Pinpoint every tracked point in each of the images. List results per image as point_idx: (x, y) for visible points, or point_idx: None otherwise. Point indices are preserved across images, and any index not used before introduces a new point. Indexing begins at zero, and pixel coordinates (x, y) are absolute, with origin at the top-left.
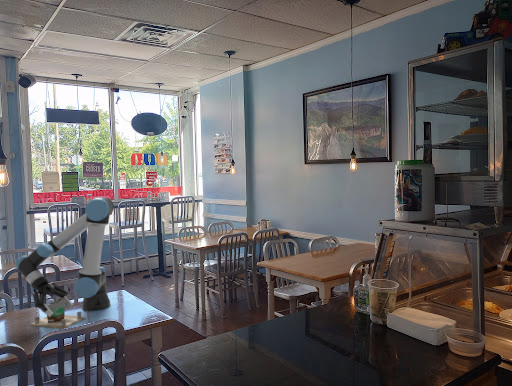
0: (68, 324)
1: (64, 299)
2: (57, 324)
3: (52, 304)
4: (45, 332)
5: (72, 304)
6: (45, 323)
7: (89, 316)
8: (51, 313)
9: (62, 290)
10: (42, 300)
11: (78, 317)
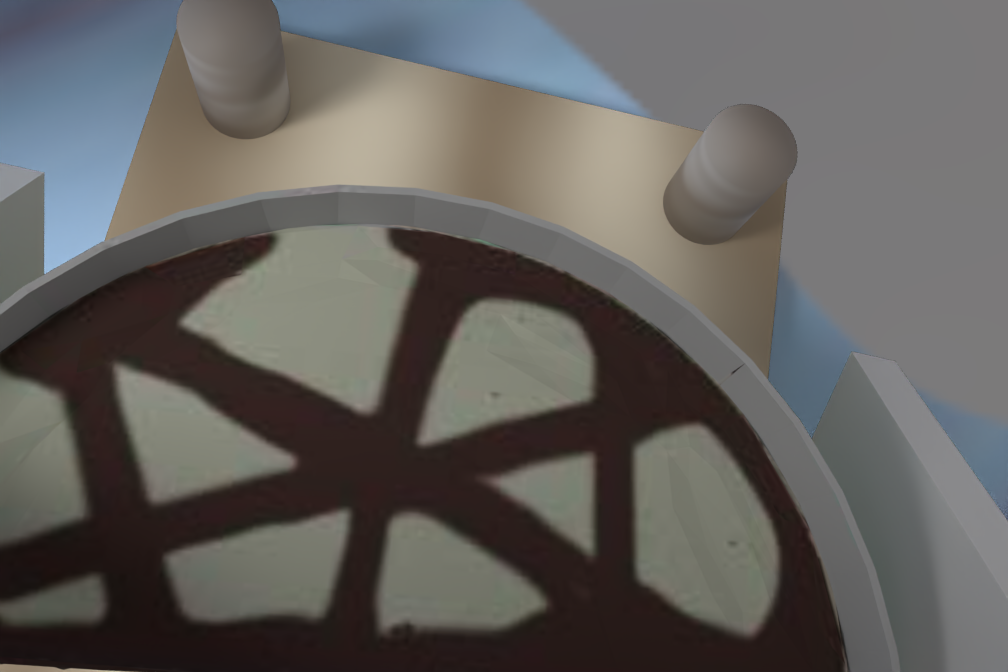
0: (645, 137)
1: (35, 313)
2: None
3: (795, 434)
4: (969, 440)
5: (7, 169)
6: None
7: (54, 3)
8: (895, 383)
9: None
10: None
11: (289, 86)
